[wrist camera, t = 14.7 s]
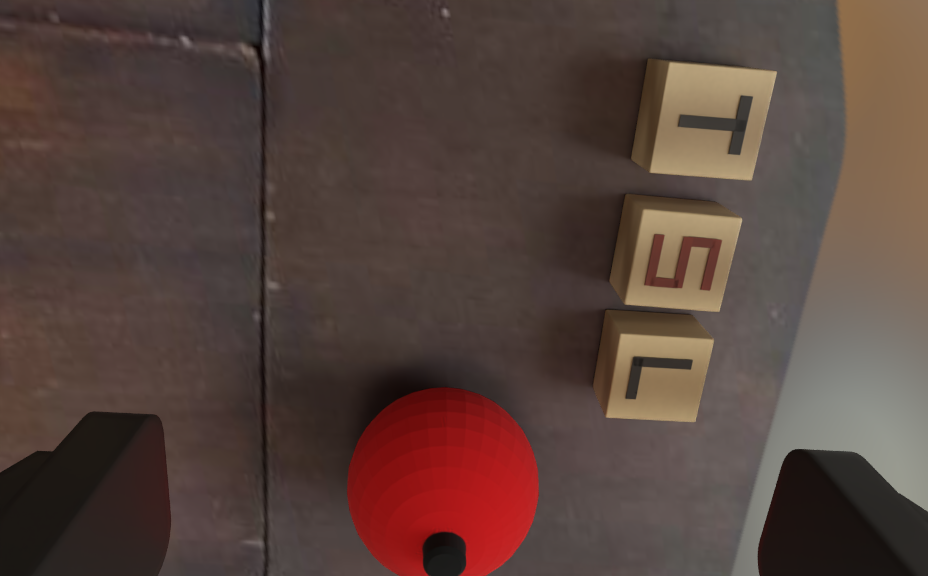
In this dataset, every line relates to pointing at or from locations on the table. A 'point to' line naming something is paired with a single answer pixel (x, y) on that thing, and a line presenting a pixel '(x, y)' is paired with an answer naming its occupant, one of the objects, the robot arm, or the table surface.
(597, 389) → the letter l tile
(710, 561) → the table surface
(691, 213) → the tile
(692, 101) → the letter t tile
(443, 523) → the ornament
